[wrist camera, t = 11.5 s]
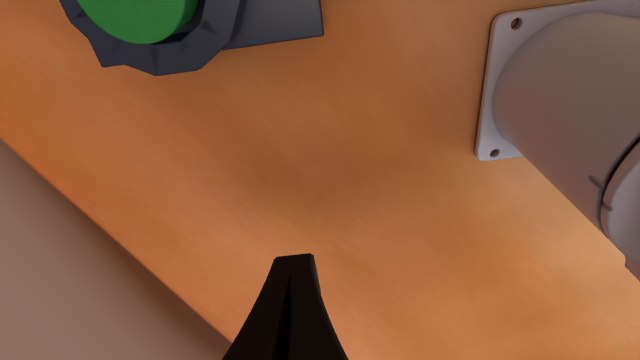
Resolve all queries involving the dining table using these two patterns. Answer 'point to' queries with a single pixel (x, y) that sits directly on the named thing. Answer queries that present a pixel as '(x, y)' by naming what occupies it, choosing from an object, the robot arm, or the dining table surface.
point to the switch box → (205, 33)
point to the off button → (140, 17)
